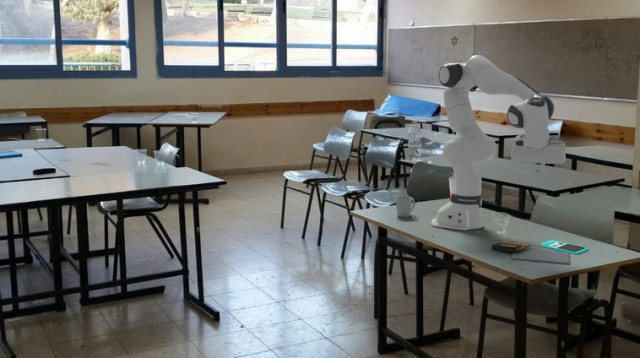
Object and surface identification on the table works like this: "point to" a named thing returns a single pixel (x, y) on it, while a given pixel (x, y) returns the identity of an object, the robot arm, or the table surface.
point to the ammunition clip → (510, 246)
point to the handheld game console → (564, 247)
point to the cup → (404, 206)
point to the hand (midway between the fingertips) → (538, 172)
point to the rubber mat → (542, 256)
